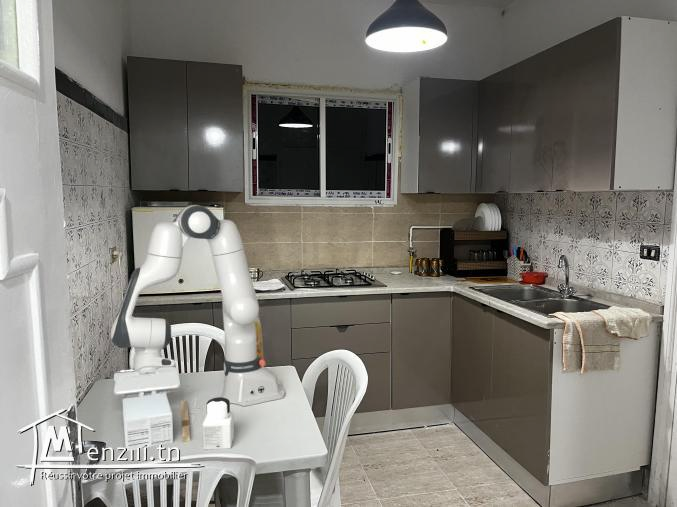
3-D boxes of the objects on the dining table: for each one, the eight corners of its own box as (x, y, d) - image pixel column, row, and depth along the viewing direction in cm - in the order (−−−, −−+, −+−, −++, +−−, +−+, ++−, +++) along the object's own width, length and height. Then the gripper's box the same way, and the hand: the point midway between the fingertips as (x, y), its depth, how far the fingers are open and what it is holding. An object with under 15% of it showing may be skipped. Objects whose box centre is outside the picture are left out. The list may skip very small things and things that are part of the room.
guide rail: (187, 406, 171) (187, 400, 171) (190, 440, 147) (189, 433, 147) (180, 407, 171) (180, 401, 170) (182, 441, 146) (182, 435, 146)
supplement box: (123, 427, 156) (121, 398, 155) (167, 419, 161) (166, 391, 160) (124, 452, 140) (123, 420, 139) (173, 442, 146) (172, 412, 145)
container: (207, 437, 149) (206, 395, 148) (234, 436, 150) (233, 394, 148) (203, 450, 141) (201, 406, 140) (230, 449, 142) (229, 405, 141)
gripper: (113, 366, 161) (111, 407, 153) (179, 359, 168) (181, 399, 160) (115, 374, 166) (113, 415, 158) (179, 368, 172) (181, 406, 164)
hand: (147, 407), depth 159 cm, fingers closed
